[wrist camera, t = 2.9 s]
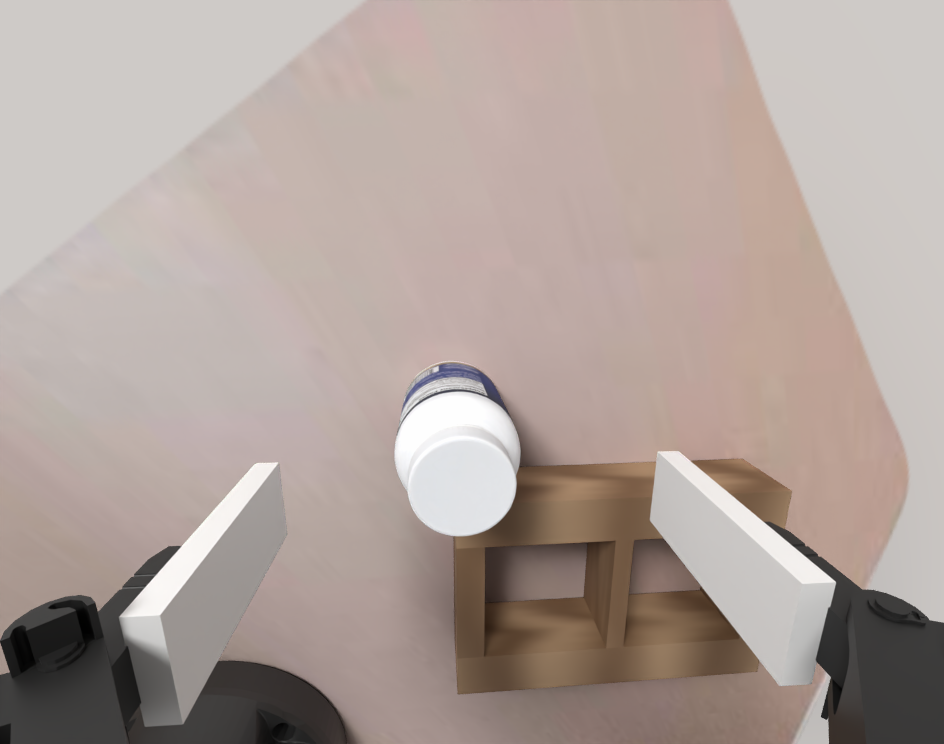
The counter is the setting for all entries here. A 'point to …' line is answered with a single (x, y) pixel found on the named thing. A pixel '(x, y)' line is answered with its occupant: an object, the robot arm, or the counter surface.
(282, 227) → the counter surface
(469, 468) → the pill bottle
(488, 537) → the socket board
